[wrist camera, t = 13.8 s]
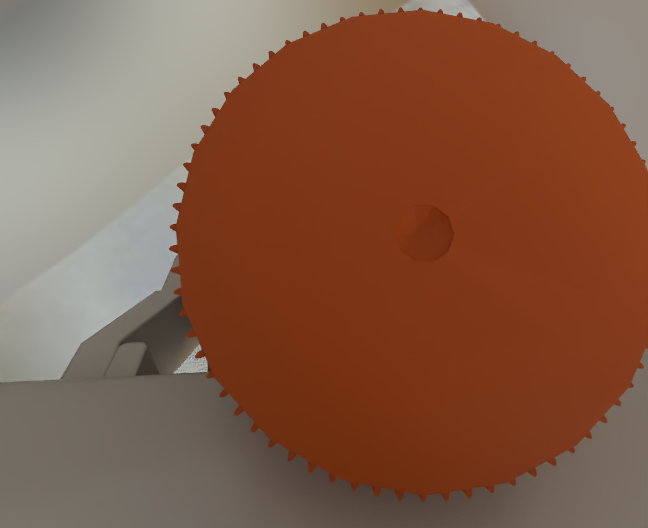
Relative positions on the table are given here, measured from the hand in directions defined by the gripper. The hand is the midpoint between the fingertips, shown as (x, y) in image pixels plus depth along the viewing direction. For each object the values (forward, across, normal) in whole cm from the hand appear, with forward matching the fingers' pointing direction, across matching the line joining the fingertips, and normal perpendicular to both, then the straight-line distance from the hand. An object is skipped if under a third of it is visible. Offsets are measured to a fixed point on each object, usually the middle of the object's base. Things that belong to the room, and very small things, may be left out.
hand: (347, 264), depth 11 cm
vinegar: (+8, 0, +9) cm, 13 cm away
